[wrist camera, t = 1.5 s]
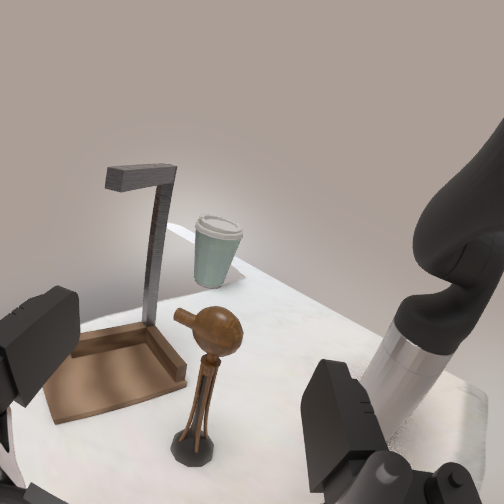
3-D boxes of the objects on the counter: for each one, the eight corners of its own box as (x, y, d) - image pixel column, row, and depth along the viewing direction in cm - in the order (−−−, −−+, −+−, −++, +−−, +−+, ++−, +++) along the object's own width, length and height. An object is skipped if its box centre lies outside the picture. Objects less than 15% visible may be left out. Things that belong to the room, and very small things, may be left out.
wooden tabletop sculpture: (155, 447, 26) (162, 302, 19) (176, 423, 30) (197, 280, 23) (201, 473, 24) (240, 339, 17) (219, 446, 28) (265, 309, 21)
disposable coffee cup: (225, 274, 73) (238, 216, 68) (236, 296, 64) (252, 231, 59) (183, 270, 69) (194, 210, 64) (188, 293, 60) (200, 224, 55)
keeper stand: (149, 339, 43) (171, 164, 34) (186, 386, 36) (224, 184, 27) (36, 362, 30) (18, 157, 21) (54, 424, 23) (10, 176, 14)
